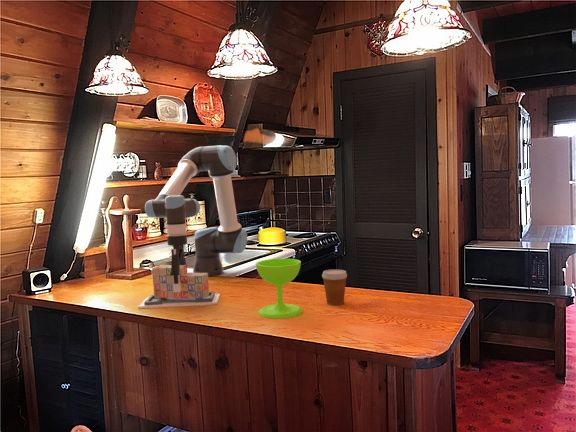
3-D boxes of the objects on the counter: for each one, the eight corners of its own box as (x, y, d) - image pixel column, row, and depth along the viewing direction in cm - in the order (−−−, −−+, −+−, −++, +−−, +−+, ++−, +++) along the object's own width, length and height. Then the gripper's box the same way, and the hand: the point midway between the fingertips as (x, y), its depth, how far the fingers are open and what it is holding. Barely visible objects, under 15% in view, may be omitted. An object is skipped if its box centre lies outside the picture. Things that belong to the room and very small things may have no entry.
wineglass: (286, 303, 189) (284, 256, 188) (311, 312, 176) (309, 262, 175) (250, 311, 181) (247, 262, 179) (273, 321, 167) (271, 268, 166)
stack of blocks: (209, 295, 198) (208, 265, 197) (202, 299, 192) (201, 268, 191) (161, 294, 204) (159, 264, 203) (153, 298, 198) (151, 267, 197)
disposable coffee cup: (330, 307, 181) (329, 275, 180) (318, 302, 190) (317, 271, 189) (353, 304, 185) (352, 272, 184) (339, 298, 194) (338, 268, 193)
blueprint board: (146, 299, 205) (146, 294, 205) (220, 295, 206) (219, 290, 206) (138, 308, 191) (138, 303, 191) (217, 304, 192) (216, 299, 192)
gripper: (172, 231, 208) (175, 281, 210) (160, 239, 184) (164, 295, 185) (190, 230, 209) (193, 280, 211) (181, 238, 184) (184, 294, 186)
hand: (180, 287), depth 198 cm, fingers open, 13 cm apart
